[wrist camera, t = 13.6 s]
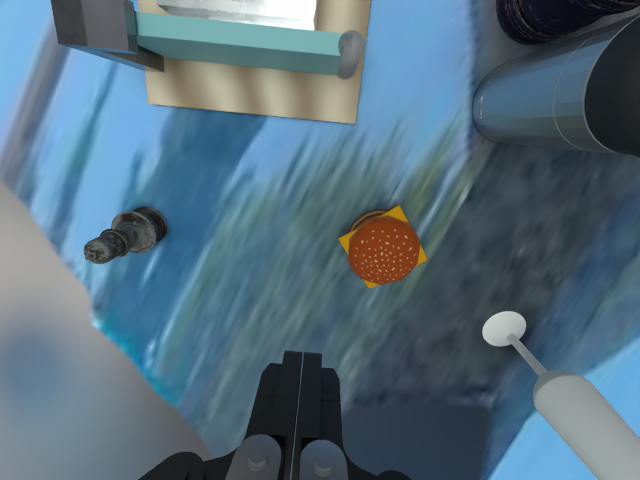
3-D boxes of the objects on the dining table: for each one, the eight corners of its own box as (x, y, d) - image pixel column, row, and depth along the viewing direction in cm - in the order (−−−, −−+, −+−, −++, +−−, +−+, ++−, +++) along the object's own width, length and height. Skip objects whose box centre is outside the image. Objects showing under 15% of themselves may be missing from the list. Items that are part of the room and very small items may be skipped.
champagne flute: (501, 304, 46) (665, 470, 24) (535, 322, 47) (723, 498, 25) (473, 335, 48) (600, 515, 26) (506, 352, 49) (655, 539, 27)
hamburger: (390, 194, 41) (402, 206, 35) (422, 249, 44) (438, 269, 38) (331, 229, 43) (333, 247, 37) (365, 280, 46) (372, 304, 39)
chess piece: (148, 251, 45) (88, 292, 33) (119, 218, 43) (45, 251, 32) (177, 230, 43) (125, 266, 32) (148, 196, 42) (82, 221, 31)
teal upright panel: (355, 58, 34) (366, 31, 24) (353, 80, 35) (362, 62, 25) (167, 38, 34) (105, 4, 24) (168, 61, 34) (109, 36, 25)
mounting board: (377, -60, 32) (379, -69, 30) (354, 124, 38) (355, 123, 36) (137, -85, 31) (128, -95, 30) (154, 104, 38) (148, 103, 36)
